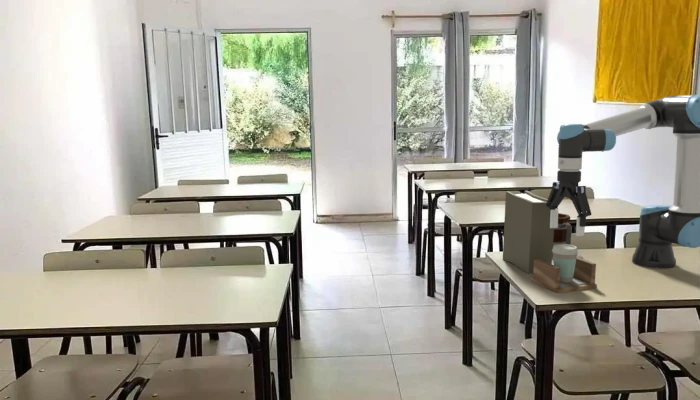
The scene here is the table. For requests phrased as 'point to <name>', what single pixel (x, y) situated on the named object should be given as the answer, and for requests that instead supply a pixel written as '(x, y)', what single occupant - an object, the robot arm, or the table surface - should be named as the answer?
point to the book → (527, 230)
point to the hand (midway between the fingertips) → (566, 231)
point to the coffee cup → (565, 261)
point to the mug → (562, 230)
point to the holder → (550, 276)
